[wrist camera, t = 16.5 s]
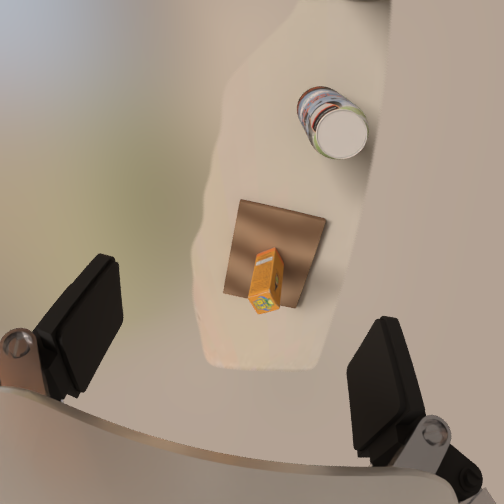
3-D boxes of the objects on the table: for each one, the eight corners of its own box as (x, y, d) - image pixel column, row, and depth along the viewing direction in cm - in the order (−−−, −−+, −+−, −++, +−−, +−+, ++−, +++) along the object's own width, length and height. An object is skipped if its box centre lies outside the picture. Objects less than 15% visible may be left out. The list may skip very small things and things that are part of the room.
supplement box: (254, 254, 46) (245, 297, 37) (275, 245, 45) (271, 288, 36) (263, 271, 47) (257, 316, 39) (285, 264, 46) (283, 308, 38)
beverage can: (323, 77, 33) (338, 74, 23) (360, 121, 36) (387, 138, 25) (285, 107, 36) (284, 116, 26) (323, 150, 38) (336, 177, 28)
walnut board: (240, 199, 43) (239, 201, 42) (325, 218, 43) (325, 221, 42) (224, 289, 51) (223, 293, 50) (295, 304, 51) (295, 308, 50)
